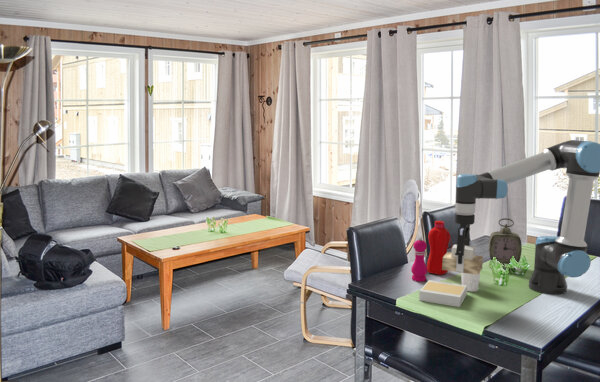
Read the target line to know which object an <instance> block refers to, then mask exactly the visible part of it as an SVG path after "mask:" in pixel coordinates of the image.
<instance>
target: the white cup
mask: <svg viewBox="0 0 600 382" xmlns="http://www.w3.org/2000/svg"><path fill="white" fill-rule="evenodd" d="M460 273H461V275H460V276H461V277H460V278H461V285H467V292H477V291H479V284H480V277H481V272H480V273H479V275H476V274H469V273H462V272H460Z"/></svg>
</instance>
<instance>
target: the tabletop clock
mask: <svg viewBox="0 0 600 382" xmlns="http://www.w3.org/2000/svg"><path fill="white" fill-rule="evenodd" d="M504 220H505V221H511V223H512V224H511V225H508V224H507V223H504V224H501V221H504ZM498 225H499V226H501V227H502V228H501V229H500V231H493V232H491V233H490V236H489V241H488V253H489V258H490V261H491V260H492V259H493V257H496V259H497V261H499V262H500V263H499V264H501V265H502V264H503V265H504V266H506V265H510V264H509V263H510V259H511V258H512V256H514V258H515V260H516V261H517V262H518V263H520V260H521V257H522V240H521V237H520V235H519V234H518V233H516V232H512V230H511V229H510V227H513V226H514V225H515V222H514V220H513V219H511V218H507V217H504V218H500V219H499V221H498Z"/></svg>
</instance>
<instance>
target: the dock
mask: <svg viewBox="0 0 600 382" xmlns="http://www.w3.org/2000/svg"><path fill="white" fill-rule="evenodd" d="M467 292H468V291H467V285H462V284H459V283H454V282H445V281H439V280H438V281H437V280H431V279H428V280H427V282H426V283H425V284H424V285H423V287H421V288H420V290H419V293H418V294H419V297H418V299H419V300H418V301H420V302H427V303H433V304H440V305H445V306H450V307H451V306H452V307H458V308H460V307H461V305H462V303H463V302H464V300H465V298H466V297H467V294H468V293H467Z"/></svg>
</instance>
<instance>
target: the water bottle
mask: <svg viewBox="0 0 600 382" xmlns="http://www.w3.org/2000/svg"><path fill="white" fill-rule="evenodd" d="M427 235H428V237H427V239H428V244H429V249H430V250H429V254H428V258H427V261H426V266H427V273H429V274H433V275H438V276H442V275H445V274H447V273H448V272H449V271H447V270H442V262H443V257H444V255H445V254H446V253H447V252H448V250H449V251H452V247H453V243H452V241H451V240H452V237H451V234H450V231H449V230H448V229H447V228H446V225H445V221H443V220H435V221H434V227H433V228H431V229H430V230H429V231H428V234H427ZM449 244H450V246H451V248H449Z"/></svg>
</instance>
